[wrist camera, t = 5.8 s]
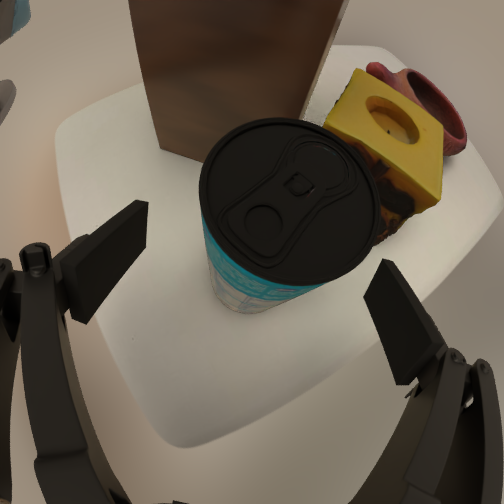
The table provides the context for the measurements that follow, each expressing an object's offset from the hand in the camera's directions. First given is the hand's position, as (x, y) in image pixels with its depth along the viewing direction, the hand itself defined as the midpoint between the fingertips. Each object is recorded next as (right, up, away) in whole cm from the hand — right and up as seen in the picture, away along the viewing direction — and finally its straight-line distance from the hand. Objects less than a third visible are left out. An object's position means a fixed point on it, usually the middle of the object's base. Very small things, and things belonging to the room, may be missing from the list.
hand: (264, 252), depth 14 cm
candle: (+9, +7, +12) cm, 17 cm away
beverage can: (-1, -2, +8) cm, 9 cm away
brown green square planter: (-3, +12, +12) cm, 18 cm away
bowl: (+21, +17, +16) cm, 31 cm away
